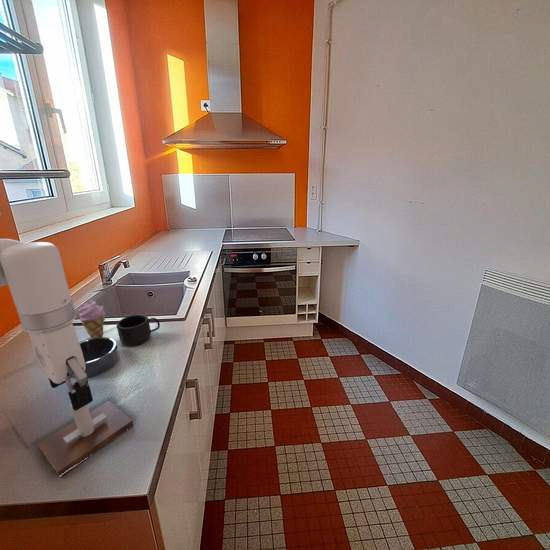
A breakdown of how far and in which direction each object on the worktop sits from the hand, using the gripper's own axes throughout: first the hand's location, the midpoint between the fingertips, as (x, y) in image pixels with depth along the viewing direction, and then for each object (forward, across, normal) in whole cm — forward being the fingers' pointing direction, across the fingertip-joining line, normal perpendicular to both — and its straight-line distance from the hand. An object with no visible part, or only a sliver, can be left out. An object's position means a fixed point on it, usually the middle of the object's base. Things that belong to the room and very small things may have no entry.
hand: (71, 394), depth 58 cm
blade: (+10, +1, 0) cm, 10 cm away
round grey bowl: (+11, -23, +12) cm, 29 cm away
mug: (+11, -24, +28) cm, 38 cm away
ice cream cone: (+12, -32, +18) cm, 39 cm away
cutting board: (+11, +1, 0) cm, 11 cm away
